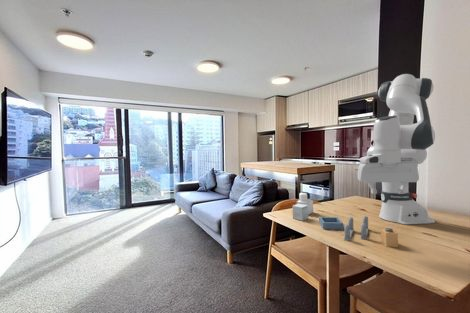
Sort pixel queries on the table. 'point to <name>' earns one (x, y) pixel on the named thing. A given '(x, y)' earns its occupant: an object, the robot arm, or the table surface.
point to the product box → (300, 212)
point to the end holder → (331, 223)
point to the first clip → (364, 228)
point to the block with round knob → (389, 237)
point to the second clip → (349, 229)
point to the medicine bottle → (306, 201)
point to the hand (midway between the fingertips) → (387, 193)
